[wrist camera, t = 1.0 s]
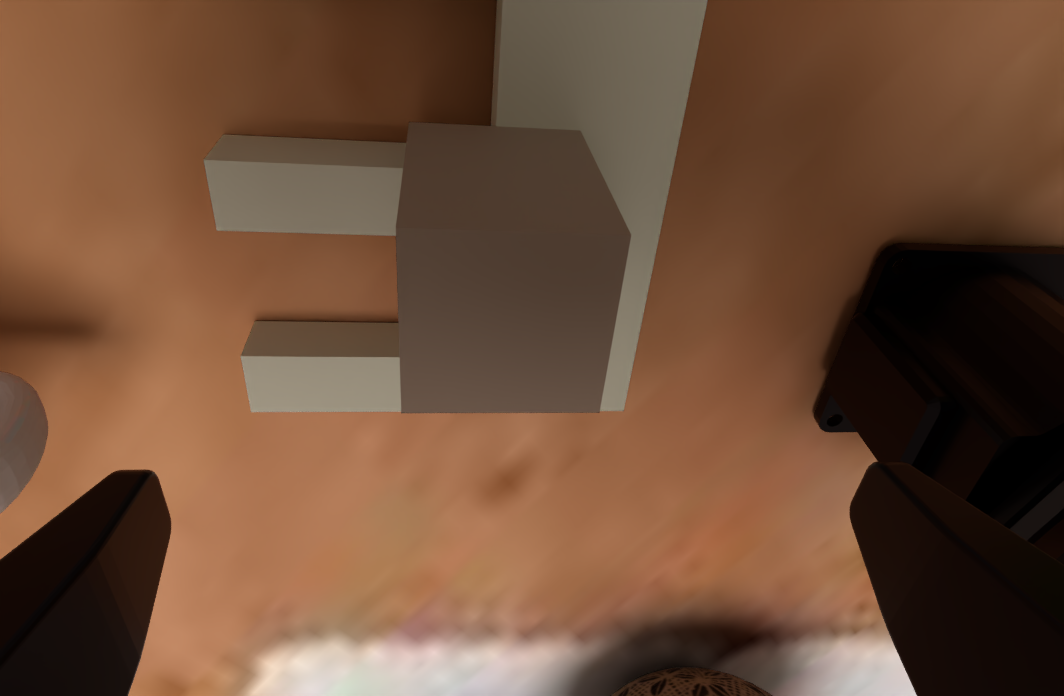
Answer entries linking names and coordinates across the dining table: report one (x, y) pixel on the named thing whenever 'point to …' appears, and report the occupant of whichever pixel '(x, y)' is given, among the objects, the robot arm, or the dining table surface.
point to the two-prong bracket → (487, 224)
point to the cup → (19, 436)
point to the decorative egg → (689, 684)
